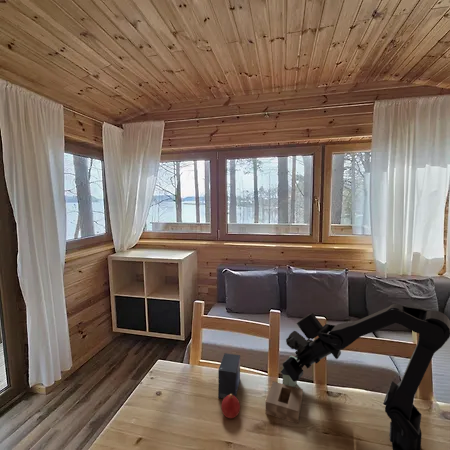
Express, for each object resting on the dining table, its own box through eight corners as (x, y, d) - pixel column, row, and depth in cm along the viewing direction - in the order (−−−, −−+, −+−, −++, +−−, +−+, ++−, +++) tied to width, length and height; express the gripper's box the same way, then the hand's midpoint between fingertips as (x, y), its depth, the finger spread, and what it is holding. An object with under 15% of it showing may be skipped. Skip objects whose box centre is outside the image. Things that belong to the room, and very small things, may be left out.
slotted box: (302, 403, 89) (302, 389, 89) (298, 426, 80) (298, 411, 80) (272, 394, 93) (273, 381, 93) (265, 416, 84) (265, 401, 84)
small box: (236, 401, 90) (236, 372, 89) (217, 398, 92) (217, 370, 91) (240, 380, 101) (240, 354, 100) (224, 378, 102) (223, 352, 101)
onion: (217, 417, 84) (217, 393, 83) (231, 407, 88) (230, 384, 87) (230, 428, 80) (230, 403, 79) (243, 418, 83) (243, 394, 83)
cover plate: (296, 386, 97) (297, 358, 96) (288, 395, 93) (289, 365, 92) (290, 383, 99) (290, 355, 98) (282, 392, 94) (282, 362, 93)
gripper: (312, 318, 98) (284, 337, 106) (288, 339, 84) (258, 359, 92) (333, 346, 94) (303, 363, 102) (312, 372, 79) (279, 390, 88)
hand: (286, 367), depth 96 cm, fingers open, 7 cm apart
